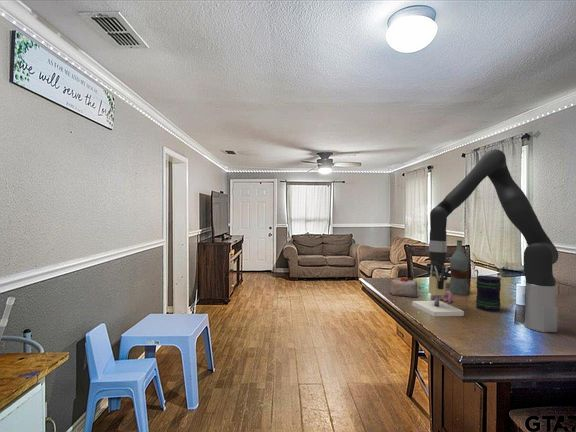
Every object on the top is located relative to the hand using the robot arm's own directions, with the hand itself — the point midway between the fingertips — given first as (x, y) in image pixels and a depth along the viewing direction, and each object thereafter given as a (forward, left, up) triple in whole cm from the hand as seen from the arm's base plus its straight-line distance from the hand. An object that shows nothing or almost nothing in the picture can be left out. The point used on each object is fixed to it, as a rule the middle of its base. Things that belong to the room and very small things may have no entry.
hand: (437, 287), depth 152 cm
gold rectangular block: (0, 0, -3) cm, 3 cm away
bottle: (+31, -33, -11) cm, 46 cm away
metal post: (0, 0, -8) cm, 8 cm away
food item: (+29, +1, -11) cm, 31 cm away
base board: (0, 0, -10) cm, 10 cm away
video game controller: (+16, -13, -11) cm, 23 cm away
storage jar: (0, -26, -11) cm, 28 cm away
